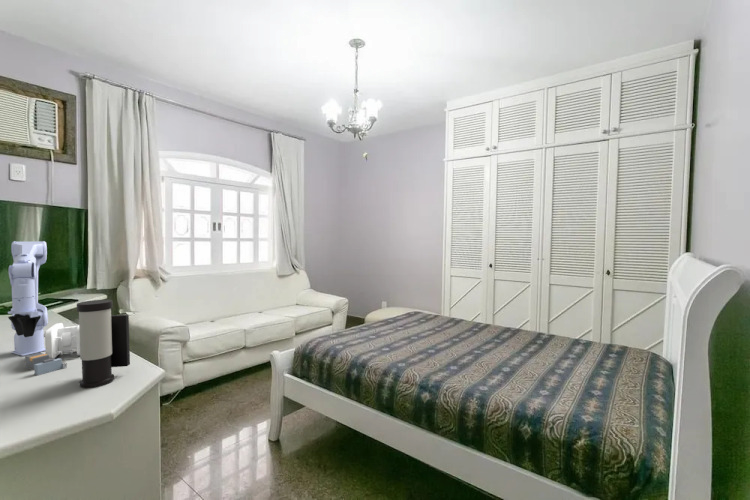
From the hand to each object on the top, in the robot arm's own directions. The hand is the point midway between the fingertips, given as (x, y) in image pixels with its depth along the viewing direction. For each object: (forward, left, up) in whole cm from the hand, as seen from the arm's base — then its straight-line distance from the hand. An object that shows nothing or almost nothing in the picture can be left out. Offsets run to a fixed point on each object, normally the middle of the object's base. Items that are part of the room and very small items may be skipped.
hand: (25, 335), depth 122 cm
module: (+8, 0, -10) cm, 13 cm away
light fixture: (+41, +2, -10) cm, 42 cm away
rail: (+9, +3, -10) cm, 14 cm away
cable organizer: (+2, +11, -10) cm, 15 cm away
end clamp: (+17, 0, -10) cm, 19 cm away
